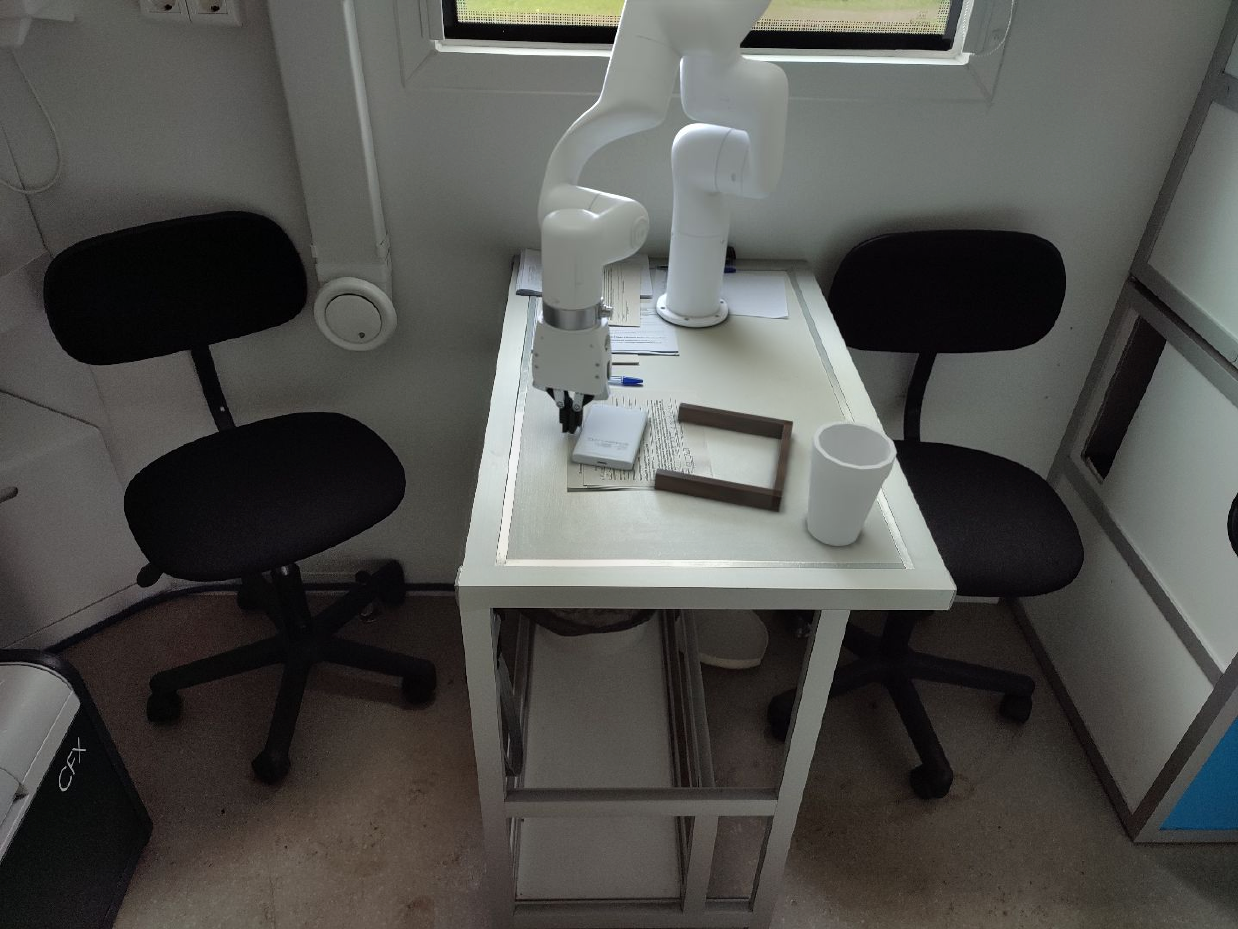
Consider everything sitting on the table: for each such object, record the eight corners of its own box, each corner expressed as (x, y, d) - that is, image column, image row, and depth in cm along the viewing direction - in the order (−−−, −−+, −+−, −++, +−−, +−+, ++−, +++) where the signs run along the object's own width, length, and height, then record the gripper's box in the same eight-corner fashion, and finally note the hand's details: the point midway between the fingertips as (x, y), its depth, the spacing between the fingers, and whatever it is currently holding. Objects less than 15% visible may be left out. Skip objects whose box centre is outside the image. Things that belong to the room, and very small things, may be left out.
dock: (679, 416, 125) (680, 402, 123) (790, 435, 122) (793, 421, 121) (654, 488, 111) (655, 473, 110) (778, 512, 109) (781, 496, 107)
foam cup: (857, 565, 101) (882, 479, 94) (784, 537, 105) (802, 452, 97) (879, 520, 108) (905, 436, 100) (809, 495, 111) (828, 412, 104)
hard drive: (647, 420, 124) (631, 471, 114) (592, 412, 125) (571, 462, 115) (648, 410, 123) (632, 461, 113) (592, 402, 124) (571, 452, 114)
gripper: (636, 305, 110) (629, 423, 122) (525, 288, 113) (528, 405, 124) (621, 332, 105) (616, 453, 116) (505, 314, 107) (511, 433, 118)
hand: (570, 428), depth 120 cm, fingers closed
